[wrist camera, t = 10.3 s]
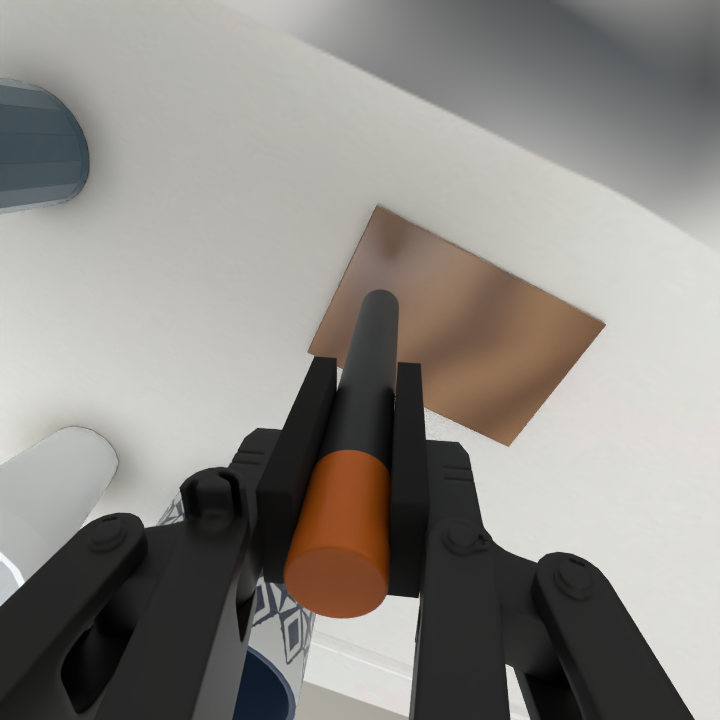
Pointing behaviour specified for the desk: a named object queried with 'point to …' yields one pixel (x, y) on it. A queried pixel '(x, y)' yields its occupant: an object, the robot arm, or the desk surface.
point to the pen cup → (38, 149)
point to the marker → (352, 479)
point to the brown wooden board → (460, 326)
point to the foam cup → (48, 499)
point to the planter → (268, 648)
